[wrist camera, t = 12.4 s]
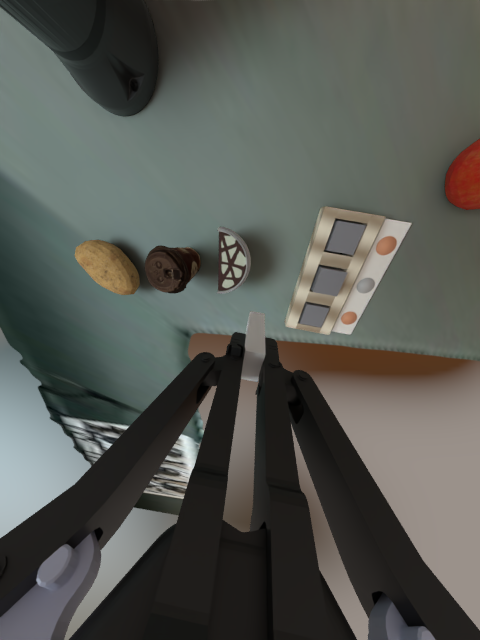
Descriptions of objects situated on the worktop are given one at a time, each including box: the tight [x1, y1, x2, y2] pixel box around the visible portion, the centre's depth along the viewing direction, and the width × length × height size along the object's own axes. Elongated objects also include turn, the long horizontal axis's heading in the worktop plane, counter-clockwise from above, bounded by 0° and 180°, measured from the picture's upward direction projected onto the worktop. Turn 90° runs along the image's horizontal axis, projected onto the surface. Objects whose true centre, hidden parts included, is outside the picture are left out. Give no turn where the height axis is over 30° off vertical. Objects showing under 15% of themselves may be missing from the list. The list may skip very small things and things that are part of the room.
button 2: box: [324, 221, 366, 255], centre depth 35 cm, size 5×5×3 cm
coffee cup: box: [145, 246, 201, 293], centre depth 37 cm, size 9×8×13 cm
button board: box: [285, 206, 385, 335], centre depth 39 cm, size 26×11×3 cm, turn 171°
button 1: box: [299, 301, 330, 328], centre depth 43 cm, size 5×5×3 cm
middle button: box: [310, 265, 347, 296], centre depth 38 cm, size 5×5×3 cm
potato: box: [75, 240, 140, 295], centre depth 41 cm, size 10×14×8 cm
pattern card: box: [331, 219, 412, 335], centre depth 40 cm, size 26×5×1 cm, turn 171°
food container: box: [217, 227, 251, 294], centre depth 36 cm, size 12×6×10 cm, turn 176°
